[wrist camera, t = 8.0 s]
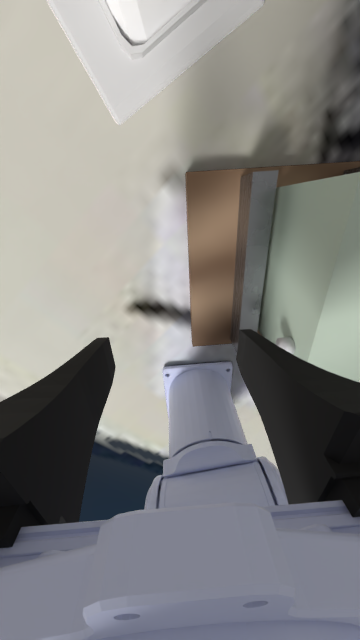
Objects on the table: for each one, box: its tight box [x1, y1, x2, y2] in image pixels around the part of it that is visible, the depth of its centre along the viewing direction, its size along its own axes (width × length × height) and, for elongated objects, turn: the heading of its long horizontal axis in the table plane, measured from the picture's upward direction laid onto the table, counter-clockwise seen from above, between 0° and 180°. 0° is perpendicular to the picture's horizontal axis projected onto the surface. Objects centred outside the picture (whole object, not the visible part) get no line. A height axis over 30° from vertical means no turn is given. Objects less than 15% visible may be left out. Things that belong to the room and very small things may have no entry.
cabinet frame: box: [185, 161, 360, 352], centre depth 18 cm, size 15×17×4 cm
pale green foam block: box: [258, 172, 360, 382], centre depth 15 cm, size 5×12×8 cm, turn 3°
